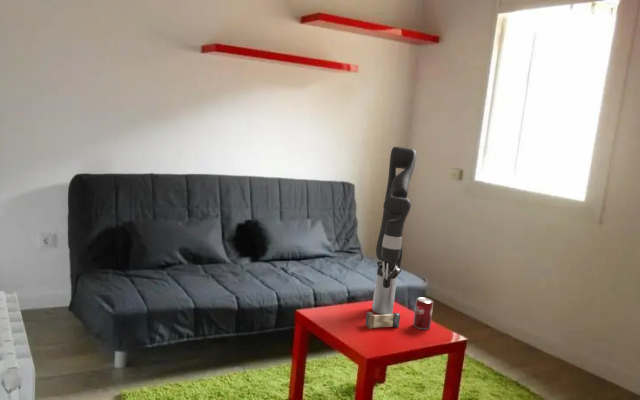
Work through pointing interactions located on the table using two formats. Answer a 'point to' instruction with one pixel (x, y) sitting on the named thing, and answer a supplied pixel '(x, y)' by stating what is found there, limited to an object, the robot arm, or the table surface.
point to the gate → (380, 320)
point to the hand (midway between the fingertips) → (385, 287)
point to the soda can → (423, 313)
